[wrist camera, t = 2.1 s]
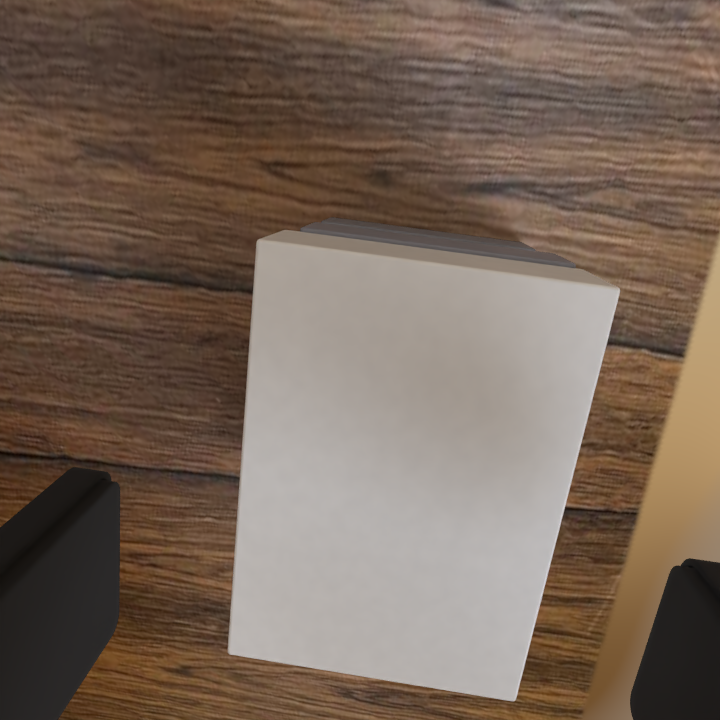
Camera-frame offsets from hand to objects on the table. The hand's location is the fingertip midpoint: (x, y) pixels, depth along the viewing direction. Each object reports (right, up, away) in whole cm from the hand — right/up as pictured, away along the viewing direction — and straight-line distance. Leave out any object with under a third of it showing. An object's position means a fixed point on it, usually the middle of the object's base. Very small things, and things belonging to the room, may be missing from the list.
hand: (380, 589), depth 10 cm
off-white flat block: (+1, +2, +5) cm, 5 cm away
